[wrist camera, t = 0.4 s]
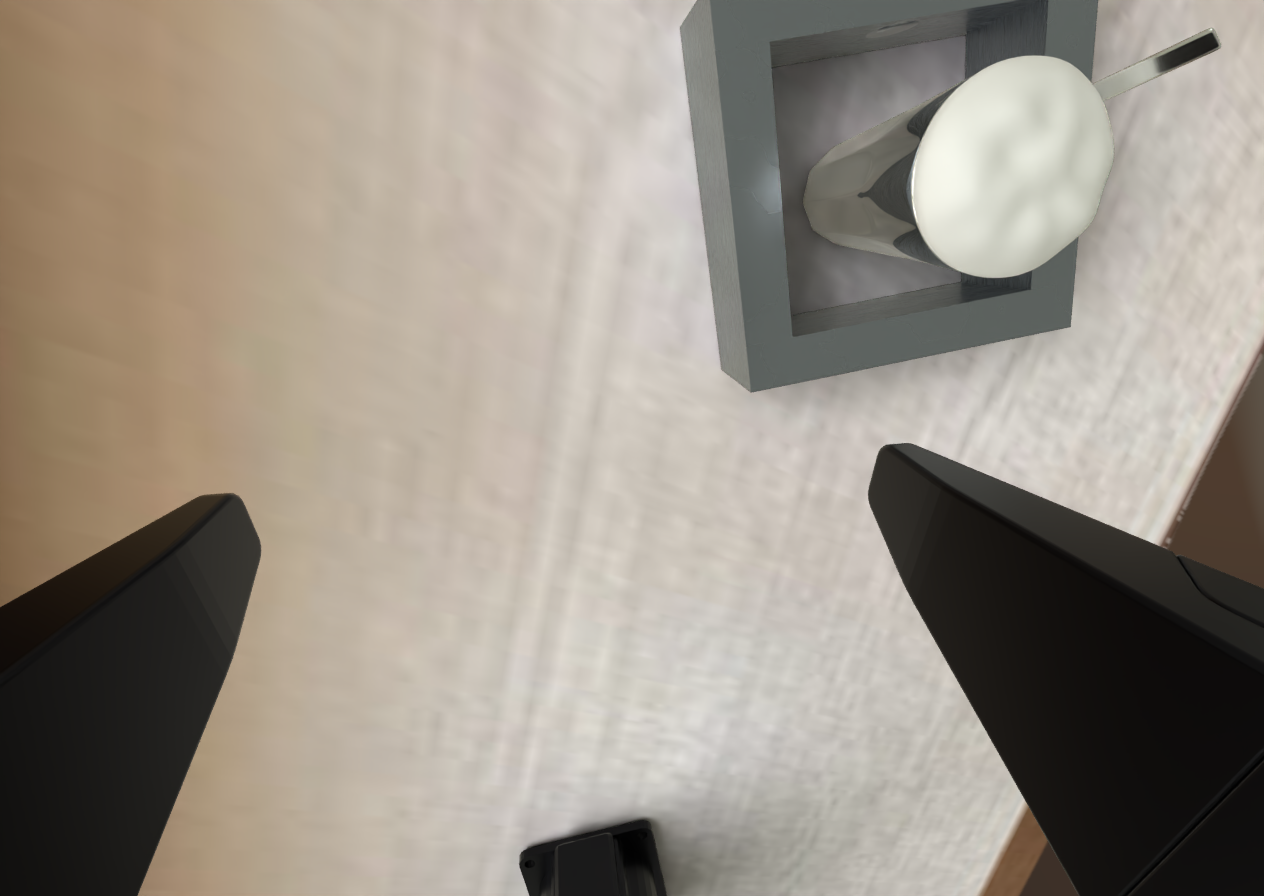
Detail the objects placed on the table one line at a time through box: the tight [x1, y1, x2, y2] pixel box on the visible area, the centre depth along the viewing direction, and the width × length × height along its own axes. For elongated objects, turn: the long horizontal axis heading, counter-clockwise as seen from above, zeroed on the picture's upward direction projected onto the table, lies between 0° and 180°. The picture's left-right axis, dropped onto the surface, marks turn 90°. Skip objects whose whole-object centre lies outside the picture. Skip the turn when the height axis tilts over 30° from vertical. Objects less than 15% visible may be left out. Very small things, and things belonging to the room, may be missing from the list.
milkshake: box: [802, 28, 1221, 278], centre depth 16 cm, size 4×5×10 cm
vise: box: [680, 0, 1098, 392], centre depth 18 cm, size 17×11×4 cm, turn 10°
